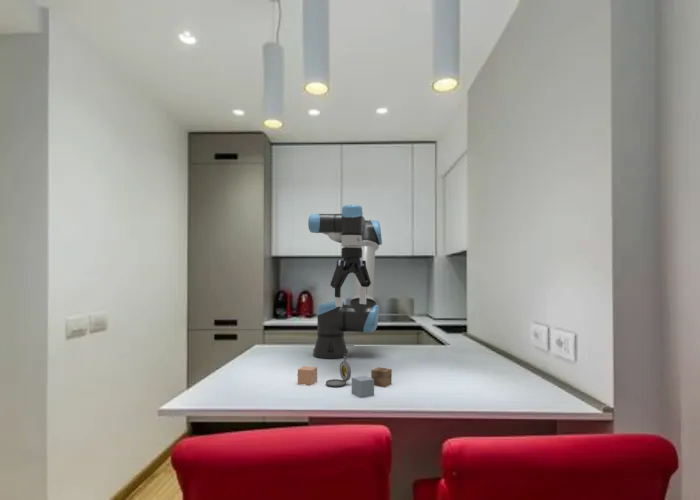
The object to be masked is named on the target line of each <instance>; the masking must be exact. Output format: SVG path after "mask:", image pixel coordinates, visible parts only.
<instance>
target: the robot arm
mask: <svg viewBox="0 0 700 500" xmlns="http://www.w3.org/2000/svg"><path fill="white" fill-rule="evenodd" d="M365 219H366V218H365V217H364V216H363V207H362V205H360V204H359V205H358V204H344V205H343V206H342V207H341V213H311V214H309V216H308V222H307V223H308V224H307V225H308V230H309V232H310V233H312V234H322V235H326V236H327V237H328V238H329V239H330V240H332V241H333V242H336V243H340V244H341V246H342V248H341V258H343V259H341V260H340V259H338V260H336V266H335V269H334V272H333V275H332V277H331V281H330V284H329V285H330V286H331V287H332V288H333V289H334V298H335V301H331V302H330V301H329V302H323V303H320V304H319V305H318V307H317V314H316V316H317V325H316V326H317V330H316V331H317V334H316V335H317V336H316V337H317V338H316V340H315V344H314V348H313V350H312V356H313V357H315V358H318V359H319V358H320V359H326V360H327V359H329V360H330V359H331V360H332V359H334V360H335V359H342V358H343V359H344V356H346V357H347V355H349V349H348V348H347V344H346V340H345V332H349V333H351V332H352V333H364V334H365V333H374V332H375V331H376V329H377V328H378V323H379V318H380V305H377V301H376V299H374V285H375V284H374V283H375V264H376V263H375V261H376V252H377V251H378V250H379V248H380V247H379V246H381V245H382V244H383V237H382V232H381V223H380V221H379V220H371V219H369V220H365ZM351 273H353V274H354V289H353V297H352V298H350V301H349V304H345V301H343V299H344V297H343V296H344V295H343V294H344V289H343V288H342V286H343V284H344V282H345V281H346V279H347V277H348V276H349V274H351ZM345 353H346V354H345ZM344 354H345V355H344Z"/></svg>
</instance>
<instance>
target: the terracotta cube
mask: <svg viewBox="0 0 700 500" xmlns="http://www.w3.org/2000/svg"><path fill="white" fill-rule="evenodd" d="M315 382H316V383H318V366H317V367H316V366H307V365H306V366H305V365H303V366H301V367H299V368H297V385H301V384H306V385H305V386H311V385H312V384H313V385H315V384H316V383H315ZM314 383H315V384H314ZM313 385H312V386H313Z"/></svg>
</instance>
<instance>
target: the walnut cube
mask: <svg viewBox="0 0 700 500" xmlns="http://www.w3.org/2000/svg"><path fill="white" fill-rule="evenodd" d="M370 372H371V375H370V378H372V379H374V387H380V388H381V387H382V388H386V387H388V386H390V385H392V379H393V378H392V374H393V373H392V368H386V367H378V366H377V367H376V368H374V369H371V370H370Z"/></svg>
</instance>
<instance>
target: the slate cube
mask: <svg viewBox="0 0 700 500" xmlns="http://www.w3.org/2000/svg"><path fill="white" fill-rule="evenodd" d="M353 394H354V396H356V397H358V398H360V399H361V398H367V397H373V396H375V386H374V379H372V378H371V376H370V377H369V376H367V375H361V376H359V375H358V376H353V377H351V395H353Z"/></svg>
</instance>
